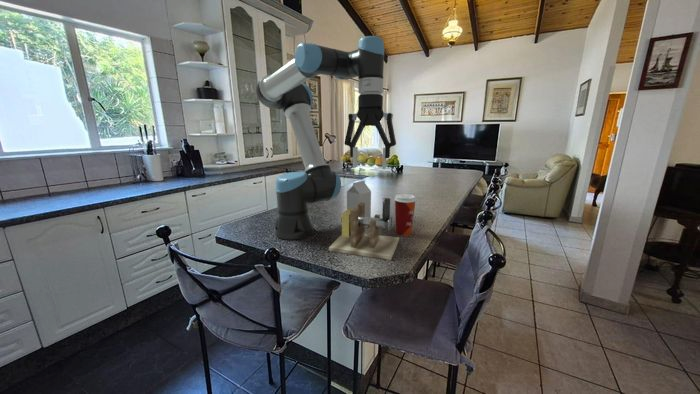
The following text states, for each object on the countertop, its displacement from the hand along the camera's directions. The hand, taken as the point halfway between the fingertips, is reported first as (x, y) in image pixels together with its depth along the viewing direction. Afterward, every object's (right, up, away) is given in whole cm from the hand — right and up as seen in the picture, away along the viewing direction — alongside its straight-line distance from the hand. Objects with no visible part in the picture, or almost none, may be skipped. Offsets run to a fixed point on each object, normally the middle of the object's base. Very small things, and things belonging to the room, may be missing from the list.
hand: (369, 167), depth 89 cm
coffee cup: (+15, -24, +18) cm, 33 cm away
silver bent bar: (-1, -20, +5) cm, 21 cm away
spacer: (-7, -18, +7) cm, 21 cm away
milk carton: (-3, -22, +26) cm, 34 cm away
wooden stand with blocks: (-1, -27, +7) cm, 27 cm away
